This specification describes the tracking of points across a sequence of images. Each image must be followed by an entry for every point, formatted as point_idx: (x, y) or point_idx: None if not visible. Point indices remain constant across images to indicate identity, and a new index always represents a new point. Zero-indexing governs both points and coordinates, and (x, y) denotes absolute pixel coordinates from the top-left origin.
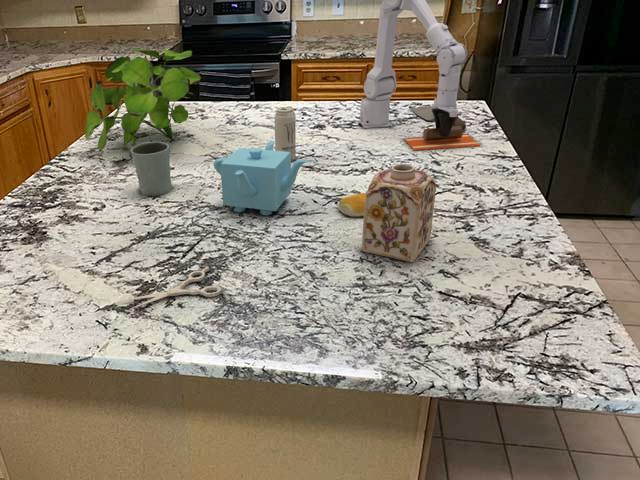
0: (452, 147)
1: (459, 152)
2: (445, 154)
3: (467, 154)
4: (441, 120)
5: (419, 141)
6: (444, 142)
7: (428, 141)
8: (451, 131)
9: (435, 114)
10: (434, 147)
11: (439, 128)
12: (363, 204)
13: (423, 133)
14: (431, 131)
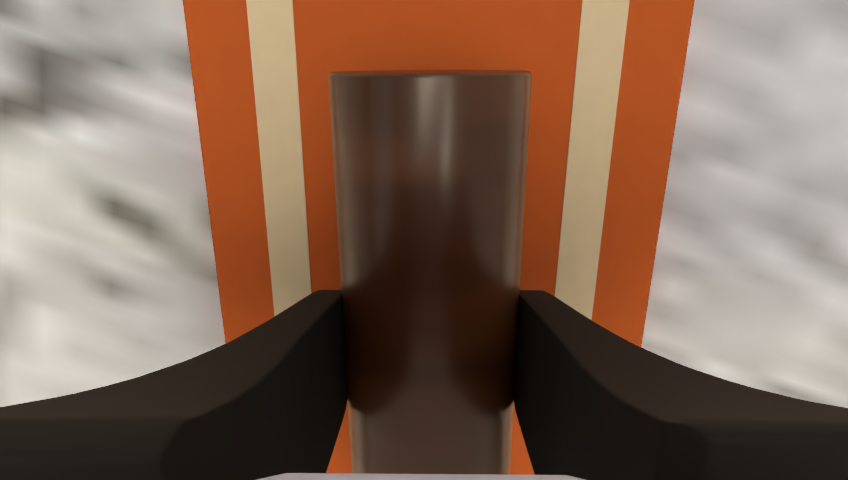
0: (227, 338)
1: (83, 352)
2: (16, 195)
3: (20, 400)
4: (80, 393)
5: (501, 22)
6: None
7: None
8: (355, 453)
9: (616, 419)
10: (215, 138)
11: (409, 326)
12: None
13: (509, 70)
14: (354, 164)
